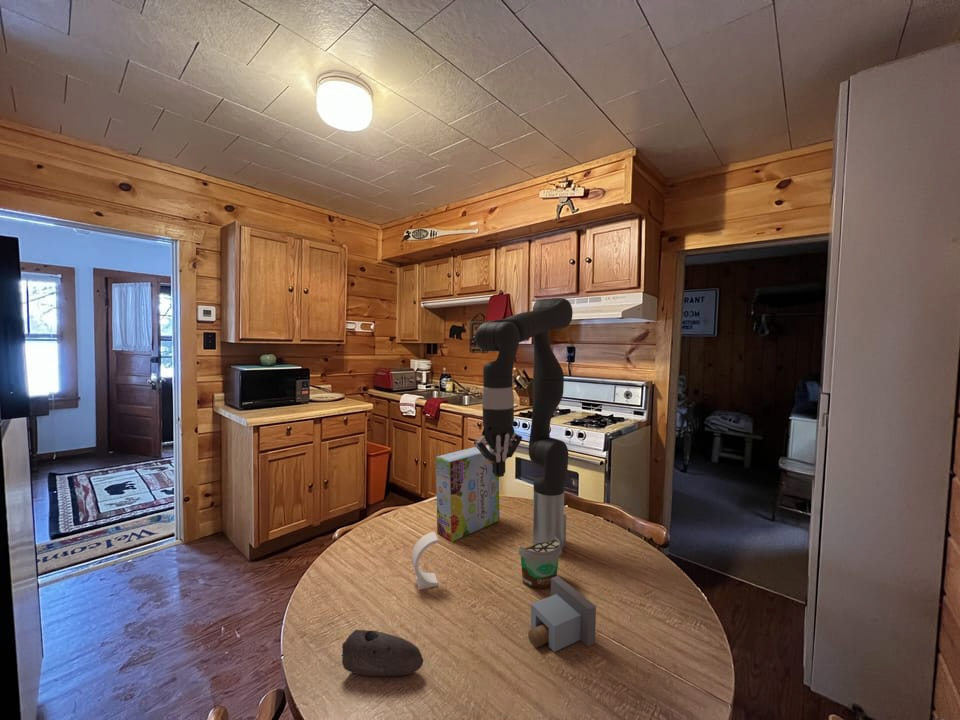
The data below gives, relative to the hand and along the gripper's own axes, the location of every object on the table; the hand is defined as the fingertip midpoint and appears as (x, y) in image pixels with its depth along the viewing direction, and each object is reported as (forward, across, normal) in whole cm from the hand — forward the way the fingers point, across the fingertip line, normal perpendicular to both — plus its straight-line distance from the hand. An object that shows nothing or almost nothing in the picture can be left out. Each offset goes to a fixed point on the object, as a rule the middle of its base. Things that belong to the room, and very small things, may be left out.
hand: (498, 475), depth 96 cm
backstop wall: (+30, -7, +17) cm, 35 cm away
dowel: (+30, -1, +17) cm, 34 cm away
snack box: (+30, -10, -35) cm, 47 cm away
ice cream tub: (+30, -12, +2) cm, 33 cm away
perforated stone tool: (+29, +32, +9) cm, 44 cm away
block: (+30, -3, +17) cm, 34 cm away
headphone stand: (+30, +15, -13) cm, 35 cm away
